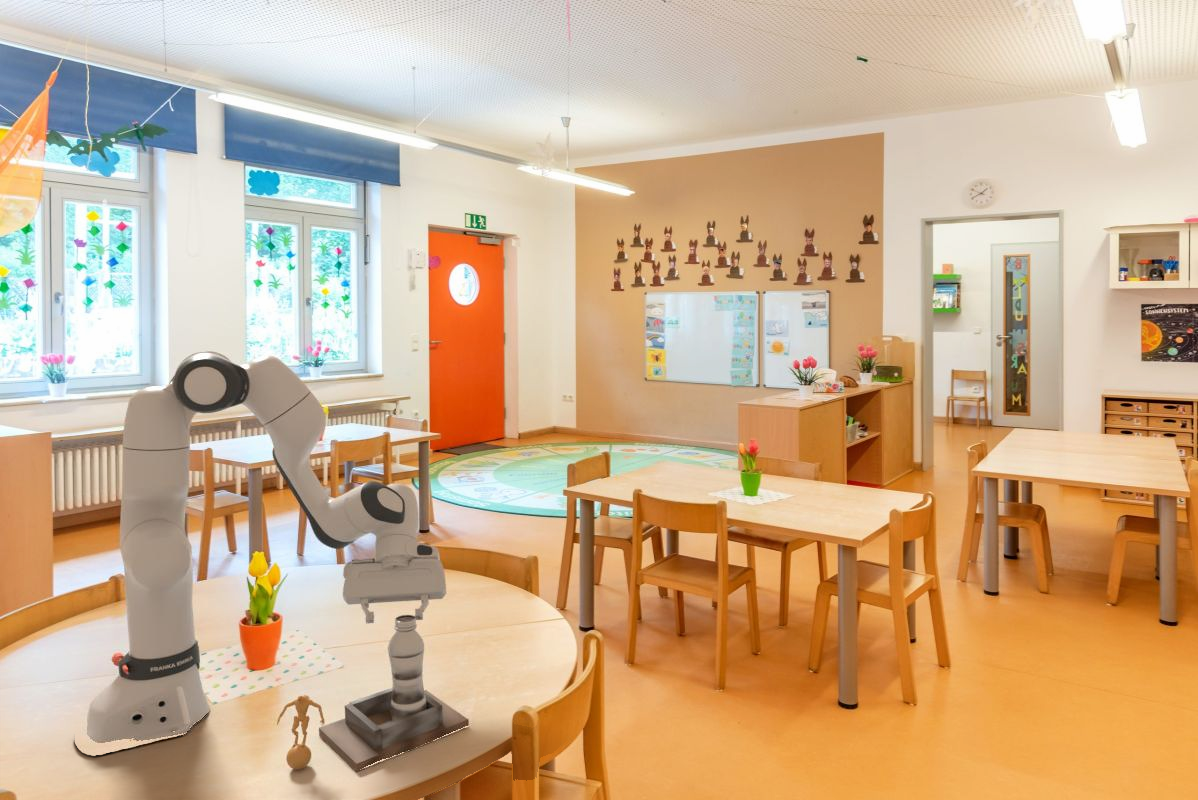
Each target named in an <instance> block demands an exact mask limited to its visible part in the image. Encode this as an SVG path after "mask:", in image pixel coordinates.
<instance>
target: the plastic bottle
mask: <svg viewBox="0 0 1198 800" xmlns="http://www.w3.org/2000/svg"><path fill="white" fill-rule="evenodd" d="M416 629H417V620H416V617H415V615H412V614H402V615H398V616H396V617H395V618H394V631H395V632H394V634H393V635H392V637H391V638H390V639H389V641H388V646H387V653H388V658H389V662H390V663H389V664H390V668H391V669H390V670H391V680H392V687H391V688H392V701H391V708H390V712H391V716H392V720H393V721H394V722H395V721H397V720H400V719H403V718H405V717H408V716H411V715H413V714H416V713H419V712H422V711H424V710H427V702H426V698H425V695H424V690H425V689H424V682H423V672H424V671H423V664H424V653H425V643H424V640H423V637H422V636H421V635H420V634H419V632H418V631H417V630H416Z"/></svg>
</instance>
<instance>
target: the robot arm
mask: <svg viewBox="0 0 1198 800" xmlns="http://www.w3.org/2000/svg"><path fill="white" fill-rule="evenodd" d="M238 405H242V406H245V407H246V408H247V409H248V410H249V411H250V412H251V413H252V414H253V415H254V416H255V417H256V419H257V420H258V421H259V422H260V424H261V425H262V426H263V427H264V429H265V430H266V432H267V433H268V436H269V438H270V440H271V442H272V445H273V448H272V452H271V453H272V454H271V455H272V459H273V461H274V463H275V465H276V467H277V469H278V472H279V473H280V474H281V477H282V478H283V480H284V481H285V482H286V484H287V487H289V489H290V491H291V493H292V494H293V496H294V498H295V499H296V500H297V502H298V504H299V506H300V507H301V509H302V511H303V513H304V514H305V515H306V516H305V517H306V518H307V519H308V522H309V524H310V527H311V530H312V532H313V534H314V536H315V538H316V539H317V540H318V541H319V542H320V543H321V544H322V545H325V546H326V547H329V548H331V549H334V550H342V549H344V548H346V547H348V546H349V545H351V544H352V543H353V542H355V541H357V540H358V539H360V538H362V537H364V536H367V535H369V534H370V533H371V534H372V535H374V536H375V542H374V556H373V558H372V557H371V558H363V559H358V558H357V559H352V560H351V561H349V562H347V563H346V564H345V565H344V567H343V573H342V574H343V575H342V576H343V578H344V583H343V588H342V598H343V601H344V602H345V603H346V604H347V605H348V606H349V605H360V607H361V610H362V611H363V613H364V614H365V623H366V624H374V623H375V612H374V611H370V610H369V608H370V604H379V603H382V604H383V603H395V602H396V603H397V602H413V601H421V605H420V606H419V608H415V609H414V614H415V615H414V616H415V617H416V621H423V620H424V612H425V611H426V609H427V608H428V606H429V603H430V602H429V600H443V599H444V598H445V596H446V595H447V583H446V582H447V581H446V574H445V569H444V566H443V563H442V562H441V559H440V552H439V551H440V550H439V549H438V547H436V546H432V545H429V544H424V543H421V542H419V540H418V537H417V534H418V530H419V519H420V518H419V506H418V500H417V496H416V494H415V491H414V490H413V489H412V488H411V487H410V486H408V485H405V484H402V483H394V482H393V483H390V484H387V485H386V484H384V483H382V482H379V481H376V480H375V481H374V480H369V481H366V482H364V483H362V484H360V485H357V486H356V487H354V488H352V489H350V490H348V491H347V492H345V493H344V494H340V495H339V496H337V497H332V496H330V495H328V493H327V492H326V490H325V488H324V486H323V485H322V484H321V482H320V480H319V478H318V477H317V475H316V473H315V472H314V470H313V468H312V465H311V462H310V461H311V460H310V457H311V453H312V452H313V449H314V448H315V446H317V444H318V442H319V441H320V439H321V438H322V436H323V435H324V431H325V429H326V422H327V420H326V419H327V417H326V412H325V410H324V408H323V406H322V404H321V403H320V401H319V400H318V398H317V397H316V396H315V394H313V392H312V391H311V390H310V388H309V387H308V386H307V385H306V384H305V382H303V380H302V379H301V378H300V377H299V376H298V375H297V374H296V373H295V372H294V371H293V370H292V369H291V368H290V367H289V366H288V365H287V364H285V363H284V362H283V361H282V360H281V359H279V358H278V357H276V356H273V355H262V356H259V357H255V358H253V359H251V360H250V361H248V362H247V363H244V364H236V363H234V362H232V361H231V360H230V359H229V358H228V357H227V356H225V355H223V354H221V353H218V352H215V351H207V350H206V351H199V352H195V353H192V354H191V355H189V356H186V358H184V359H182V361H181V362H180V364H179V365H178V367H177V368H176V371H175V372H174V375H173V377H172V378H171V380H170V382H169V383H168V384H167V385H155V386H154V385H152V386H148V387H144V388H141V389H139V390H137V391H136V392H134V393H133V394H132V395H131V397H130V398H129V400H128V405H127V408H126V412H125V418H124V425H123V435H122V465H121V467H122V468H121V469H122V471H121V472H122V474H121V475H122V477H121V479H122V481H121V484H122V485H121V486H122V488H121V502H120V522H119V523H120V524H119V550H120V554H121V557H122V563H123V570H124V571H123V573H124V586H125V600H126V601H125V602H126V620H127V621H126V622H127V634H128V645H129V651H128V652H127V653H126V654H125V655H124V654H122V652H115V653H114V654H113V655H112V656H111V662H112V663H113V665H114V666H116V667H118V675H117V676H116V677H115V678H114V679H113V680H112V681H110V683H108V684H107V686H105V687H104V688H103V689H102V690H100V692H98V693H97V694H96V695H95V696H94V697H93V698H92V700H91V701H90V703H89V707H88V710H87V718H86V721H87V735H88V736H89V737H90V739H92V740H93V741H95V742H97V743H105V742H111V741H114V740H115V741H116V740H122V739H132V738H134V739H133V740H136V741H139V740H141V741H143V740H150V739H156V738H161V737H166V736H167V737H168V736H173V735H178V734H182V733H183V734H184V733H186V732H187V731H188V730H189V729H190V727H191V726H192V725H193V724H194V723H195V722H197V721H198V720H200V719H201V718H203V717H204V716H205V715H206V714H207V713H208V714H209V712H210V710H211V707H210V704H209V702H208V700H207V697H206V694H205V692H204V689H203V684H202V680H201V676H200V671H199V669H200V664H201V656H200V655H201V654H200V653H201V652H200V647H199V644H198V640H197V639H196V634H195V631H196V630H195V619H194V608H193V607H194V606H193V594H194V592H193V589H194V588H193V587H194V580H193V579H194V577H193V575H194V573H193V571H194V569H193V567H194V566H193V548H192V544H191V543H190V541H189V538H188V536H187V535H186V529H185V524H186V523H185V522H186V512H187V500H188V495H189V489H190V463H191V462H190V461H191V459H190V457H191V455H190V454H191V453H190V450H191V447H190V446H191V426H192V422H193V419H194V417H195V416H196V415H197V414H199V413H200V414H213V413H218V412H221V411H225V410H226V409H227V410H228V409H229V408H232V407H236V406H238ZM208 714H207V715H208ZM207 715H206V716H207ZM206 716H205V717H206ZM205 717H204V718H205ZM204 718H203V719H204ZM192 727H193V726H192ZM190 730H191V729H190ZM173 731H175V732H173ZM130 741H131V740H130Z"/></svg>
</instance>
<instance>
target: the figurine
mask: <svg viewBox="0 0 1198 800" xmlns="http://www.w3.org/2000/svg"><path fill="white" fill-rule="evenodd" d="M293 706H295V710H296V712H297V715H294V716H293V724H292V726H291V733H292V734H293V735H294V736H295V737H294V742H293V745H292V746H291V747H290V749H289V750H288V751H287V752H286V753H287V754H286V763H287V765H288V766H289V767H290V768H291V769H293V770H301V769H304V768H306V767H307V766H308V765H309V763H310V762H311V760H312V752H311V751H312V750H311V748H309V747H308V746H307V745H306V741H307V735H308V731H307V729H308V726H309V722H310V716H309V715H307V712H308V709H309V706H312V707H315V708H317V709H318V712H319V713H318V714H319V715H320V718H321V720H320V722H319V723H321V726H320V727H322V726H323V725H325V717H324V713H323V709H322V705H320V704H319V703H317V702H315V701H313V700H312V699H310V697H309V695H306V694H302V695H298V697H297V698H296V699H294V700H292V701H290V702H289V703H287V704H285V705H284V707H283V709H282V711H280V714H279V716H278V719H277V723H276V725H277V726H278V725H279V723H280V721H281V720H280V719H281V718H282V717H283V716H284V714H285V712H286V711H287V709H288V708H289V707H293ZM300 723H301V724H300ZM300 726H301V731H302V735H303V738H302V742H301V743H299V744H298V741H299V732H298V731H297V729H298V728H299V727H300Z"/></svg>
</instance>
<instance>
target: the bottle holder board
mask: <svg viewBox="0 0 1198 800" xmlns="http://www.w3.org/2000/svg"><path fill="white" fill-rule="evenodd" d="M424 695H425V698H426V702H427V710H424V711H422V712H419V713H416V714H413V715H411V716H408V717H405V718H403V719H400V720H397V721H395V722H394V721H393V720H392V716H391V712H390V708H391V701H392V687H390V688H387V689H384V690H381V691H379V692H376V693H373V694H369V695H366V696H364V697H361V698H358V699H355V700H353V701H349V702H348V704H346V705H344V718H342V719H339V720H336V721H333V722H331V723H329V724H324V725H322V726H320V727H318V735H319V737H320V738H321V739H322V740H323V741H324V742H325V743H326V744H327V745H329V747H331V749H333V750H334V751H335V752H336V753H337V754H338V756H339V757H341V758H342V759H343V761H345V762H346V763H347V764H348V765H349V766H350V767H351V769H353V770H354V769H355V770H356V771H358V772H360V771H359V770H360V769H362V768H364V767H366V766H368V765H371V764H373V763H375V762H377V761H380V760H382V759H386V758H390V757H392V756H394V755H398V754H400V753H402V752H406V751H408V750H411V749H413V750H415V749H414V748H416V747H418V748H420V747H419V746H421V745H423V744H425V743H428V742H431V741H433V740H435V739H437V738H440V737H442V736H444V735H446V734H449V733H451V732H453V731H456V730H458V729H461V728H463V727H465V726H468V725H469V726H470V724H469V719H468V718H467V717H466V716H465V715H462V714H461V713H460V712H459V711H457V710H456V709H454V708H453V707H451V706H450V705H448V704H447V703H446V702H444V701H443V700H441V699H440V698H438V697H437V696H435V695H434V694H433V693H431V692H430V691H428V690H427V689H424ZM433 742H434V741H433ZM431 743H432V742H431ZM428 744H429V743H428ZM423 746H424V745H423ZM421 747H422V746H421ZM416 749H417V748H416ZM411 751H412V750H411ZM408 752H409V751H408ZM406 753H407V752H406ZM398 756H399V755H398ZM355 770H354V771H355ZM356 771H355V772H356Z"/></svg>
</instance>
